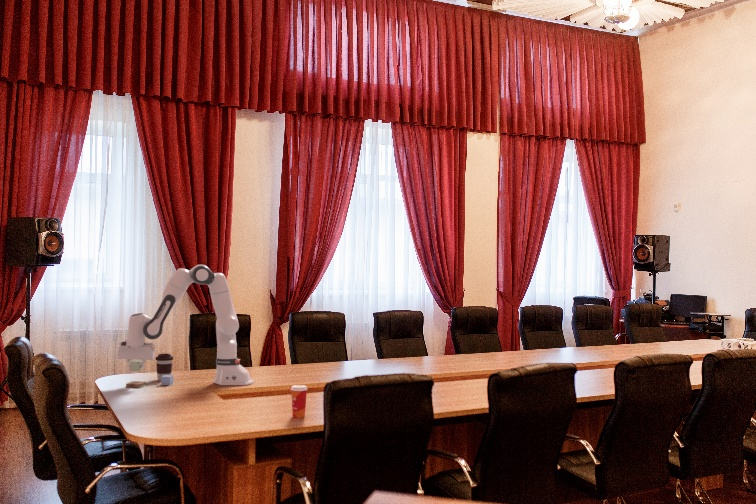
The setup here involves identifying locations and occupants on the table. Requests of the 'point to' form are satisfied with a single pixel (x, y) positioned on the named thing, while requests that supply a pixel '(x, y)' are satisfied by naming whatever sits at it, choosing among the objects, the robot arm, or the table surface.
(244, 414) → the table surface
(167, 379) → the blue block
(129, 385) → the baseplate
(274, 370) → the table surface
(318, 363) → the table surface
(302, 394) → the paper cup
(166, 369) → the coffee cup
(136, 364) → the green block
